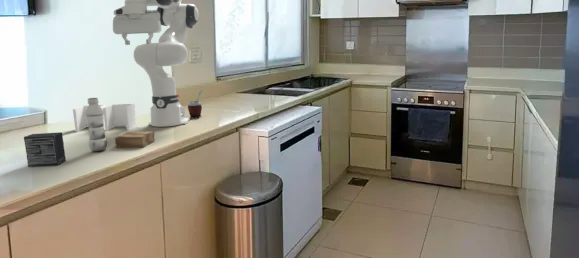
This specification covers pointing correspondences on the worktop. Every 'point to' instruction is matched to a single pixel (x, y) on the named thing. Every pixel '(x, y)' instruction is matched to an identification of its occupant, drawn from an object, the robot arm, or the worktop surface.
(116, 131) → the worktop surface
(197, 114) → the mate gourd
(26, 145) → the small box
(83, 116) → the pair of white bookends
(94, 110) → the plastic bottle
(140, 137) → the plinth
